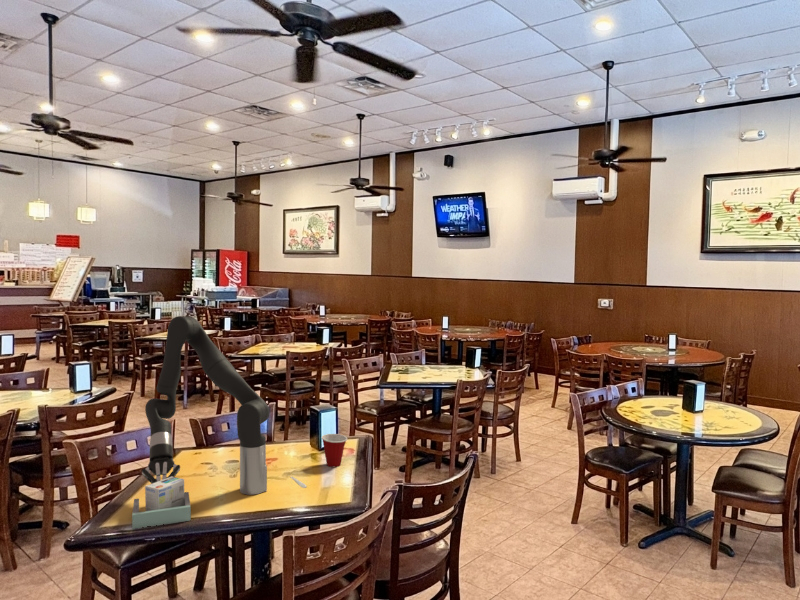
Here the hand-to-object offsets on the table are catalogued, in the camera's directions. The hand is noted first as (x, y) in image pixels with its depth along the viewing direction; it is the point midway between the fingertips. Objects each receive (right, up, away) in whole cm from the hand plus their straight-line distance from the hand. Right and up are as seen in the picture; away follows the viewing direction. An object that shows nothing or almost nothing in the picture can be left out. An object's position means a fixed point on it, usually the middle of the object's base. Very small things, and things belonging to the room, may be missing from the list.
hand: (161, 493), depth 190 cm
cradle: (+3, -5, -6) cm, 8 cm away
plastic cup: (+53, -4, +45) cm, 70 cm away
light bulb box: (+3, -5, -5) cm, 8 cm away
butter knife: (+38, -5, +31) cm, 49 cm away
